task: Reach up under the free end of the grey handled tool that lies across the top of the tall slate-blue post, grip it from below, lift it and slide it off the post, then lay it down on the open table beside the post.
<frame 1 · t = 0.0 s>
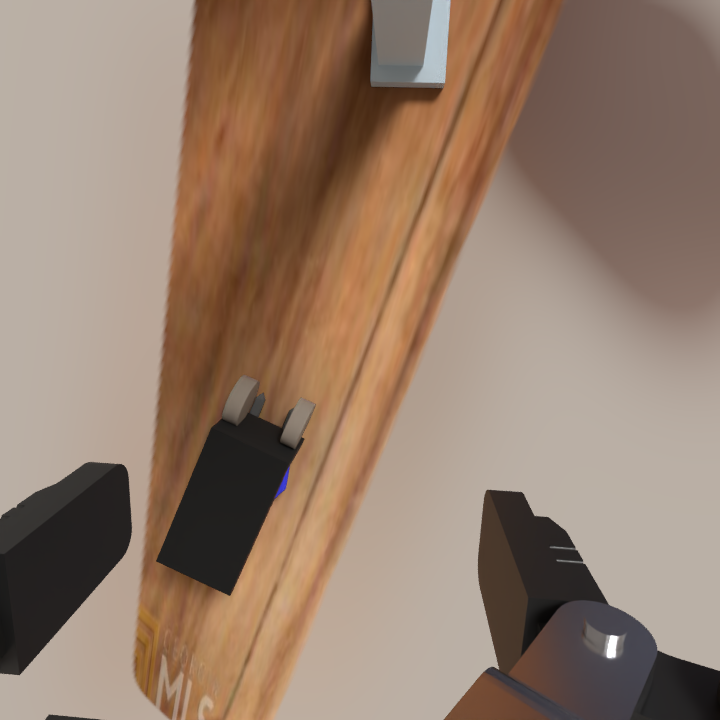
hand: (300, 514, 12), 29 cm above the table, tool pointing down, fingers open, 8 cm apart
figurine character: (255, 457, 44), on the table
post: (402, 31, 35), on the table
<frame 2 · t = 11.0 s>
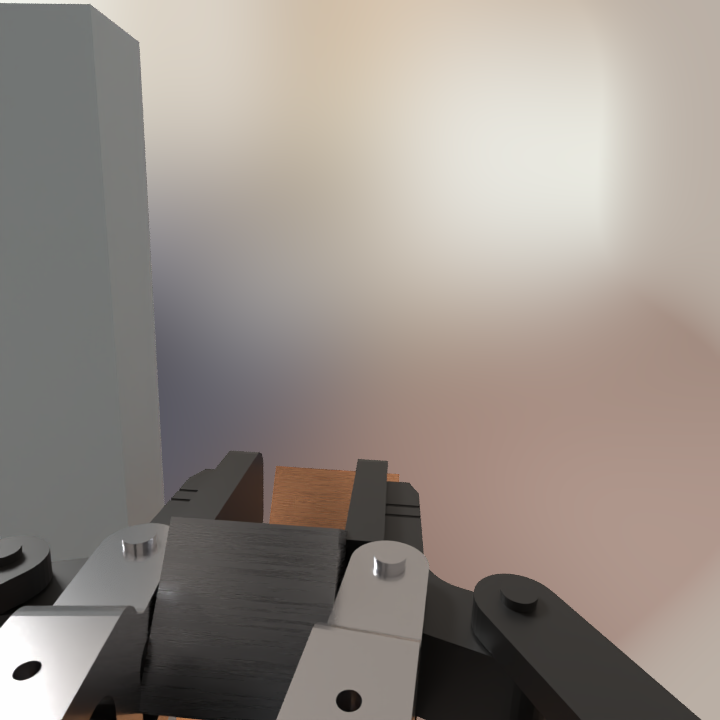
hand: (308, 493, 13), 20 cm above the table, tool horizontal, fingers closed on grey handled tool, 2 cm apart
grey handled tool: (299, 636, 12), point 16 cm above the table, tilted 32°, touching gripper
when the fingers open (8 cm above the table, at t = 13.2 s): grey handled tool drops 5 cm, on the table.
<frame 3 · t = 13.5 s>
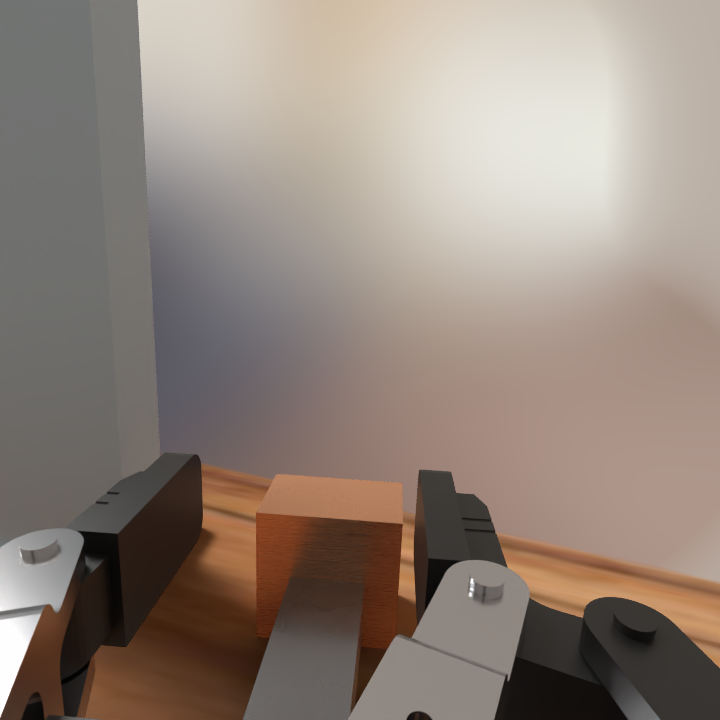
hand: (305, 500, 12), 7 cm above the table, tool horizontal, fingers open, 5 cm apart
post: (88, 558, 21), on the table
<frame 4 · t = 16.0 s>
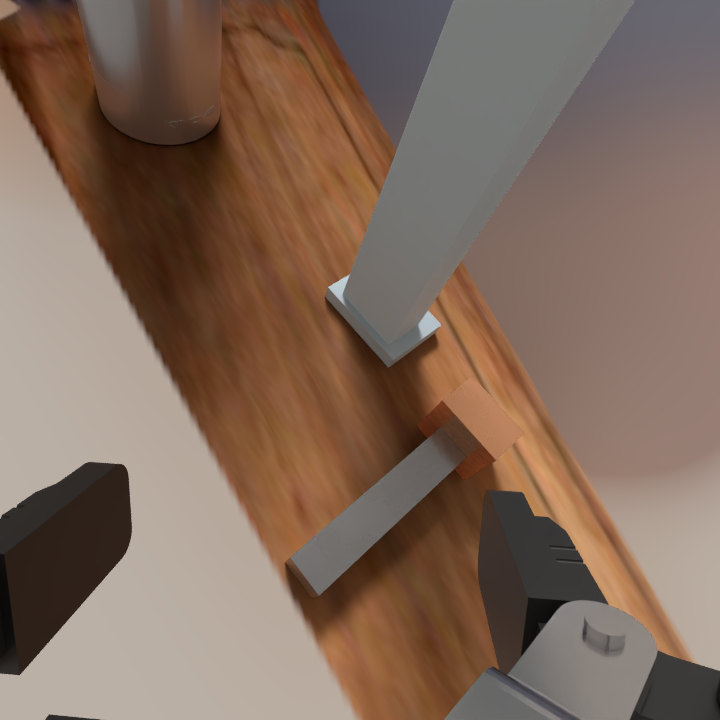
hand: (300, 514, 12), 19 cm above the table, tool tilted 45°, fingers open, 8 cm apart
grey handled tool: (375, 510, 32), on the table
post: (376, 318, 38), on the table
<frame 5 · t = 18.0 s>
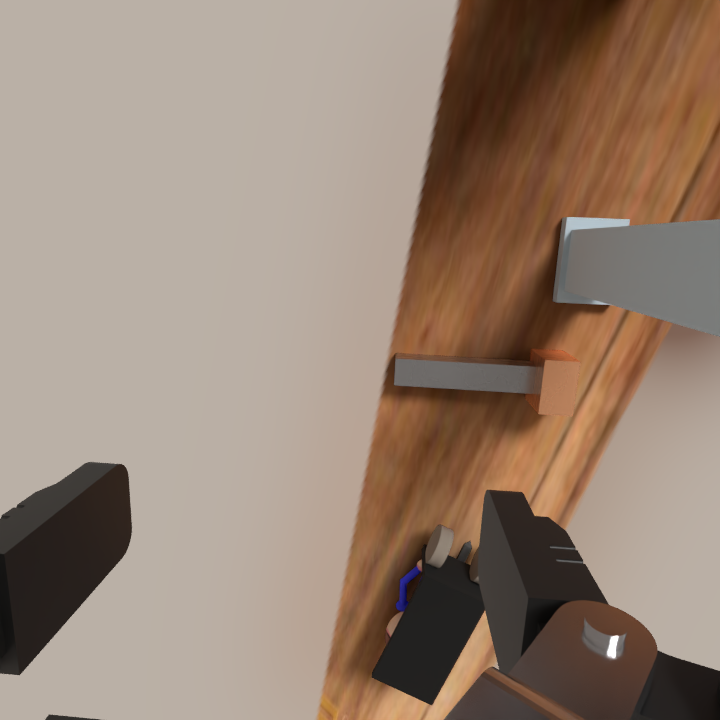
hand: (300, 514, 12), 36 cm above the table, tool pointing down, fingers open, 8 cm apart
figurine character: (431, 578, 53), on the table
grey handled tool: (461, 369, 47), on the table
post: (581, 261, 44), on the table
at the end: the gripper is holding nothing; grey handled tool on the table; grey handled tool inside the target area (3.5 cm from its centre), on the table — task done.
